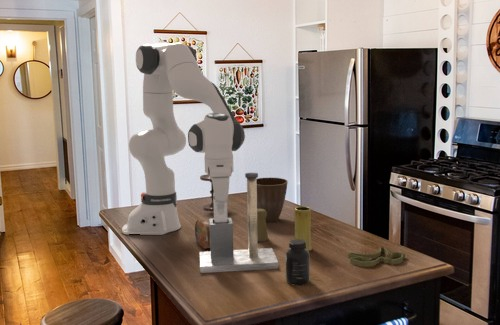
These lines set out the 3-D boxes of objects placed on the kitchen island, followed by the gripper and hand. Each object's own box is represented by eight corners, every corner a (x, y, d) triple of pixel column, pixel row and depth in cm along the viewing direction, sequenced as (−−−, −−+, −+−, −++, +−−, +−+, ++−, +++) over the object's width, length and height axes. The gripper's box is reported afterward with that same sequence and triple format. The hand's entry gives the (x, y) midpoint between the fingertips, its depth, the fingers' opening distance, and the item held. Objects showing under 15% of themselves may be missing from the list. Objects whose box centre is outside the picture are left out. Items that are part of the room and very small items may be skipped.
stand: (200, 272, 170) (196, 180, 165) (199, 257, 183) (196, 171, 178) (278, 268, 172) (277, 177, 167) (272, 253, 186) (270, 168, 181)
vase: (313, 247, 191) (313, 206, 189) (309, 252, 186) (309, 211, 183) (296, 245, 193) (296, 205, 191) (291, 251, 188) (291, 210, 185)
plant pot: (295, 220, 225) (295, 181, 223) (265, 226, 217) (264, 186, 214) (273, 212, 238) (272, 176, 235) (244, 218, 229) (243, 180, 227)
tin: (194, 240, 203) (193, 217, 201) (202, 238, 204) (202, 216, 202) (207, 252, 189) (206, 228, 187) (215, 251, 190) (215, 227, 189)
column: (215, 258, 174) (213, 195, 171) (214, 254, 179) (212, 192, 175) (228, 258, 175) (227, 195, 171) (228, 253, 179) (226, 192, 176)
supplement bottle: (284, 277, 165) (284, 238, 163) (307, 276, 165) (307, 237, 163) (287, 286, 158) (287, 245, 156) (311, 285, 158) (311, 244, 156)
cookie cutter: (387, 251, 187) (387, 245, 187) (411, 262, 176) (411, 256, 176) (341, 259, 180) (341, 253, 179) (363, 271, 169) (363, 265, 169)
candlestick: (196, 208, 248) (193, 130, 242) (215, 203, 255) (212, 127, 249) (211, 212, 240) (209, 131, 234) (230, 207, 247) (228, 129, 242)
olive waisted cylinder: (266, 241, 199) (266, 211, 197) (250, 241, 200) (249, 211, 198) (269, 236, 204) (269, 207, 203) (253, 236, 206) (252, 207, 204)
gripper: (207, 161, 182) (209, 202, 184) (209, 172, 162) (211, 218, 164) (227, 160, 182) (228, 201, 185) (231, 171, 162) (232, 217, 165)
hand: (220, 209), depth 174 cm, fingers open, 8 cm apart
